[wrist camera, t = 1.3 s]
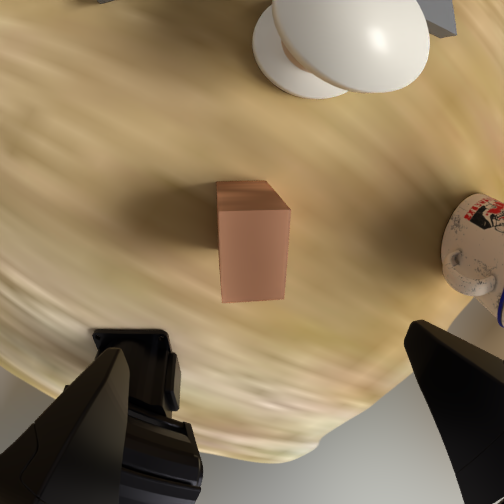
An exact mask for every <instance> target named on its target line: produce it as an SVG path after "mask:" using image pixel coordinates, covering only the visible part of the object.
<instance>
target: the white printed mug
mask: <svg viewBox="0 0 504 504" xmlns="http://www.w3.org/2000/svg"><path fill="white" fill-rule="evenodd" d="M441 259H442V264H443V269H442V270H443V275H444V277H445V279H446V281H447V282H448V284H449V285H450V286H451V287H452V288H454V289H455V290H456V291H458V292H460V293H462V294H465V295H469V296H474V297H475V298H476V299H477V300H478V301H479V302H480V303H482V304H483V305H484V306H485V307H486V308H487V309H488V310H489V311H490V312H491V313H492V314H493V315H494V316H495V317H496V318H497V319H498V323H499V325H500V326H501V327H504V203H502V202H500V201H498V200H496V199H493V198H491V197H489V196H487V195H485V194H473V195H471V196H469V197H467V198H466V199H465V200H464V201H462V202H461V203H460V204H459V206H458V207H457V208H456V210H455V211H454V212H453V214H452V216H451V218H450V220H449V222H448V224H447V226H446V229H445V232H444V235H443V240H442V246H441Z"/></svg>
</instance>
